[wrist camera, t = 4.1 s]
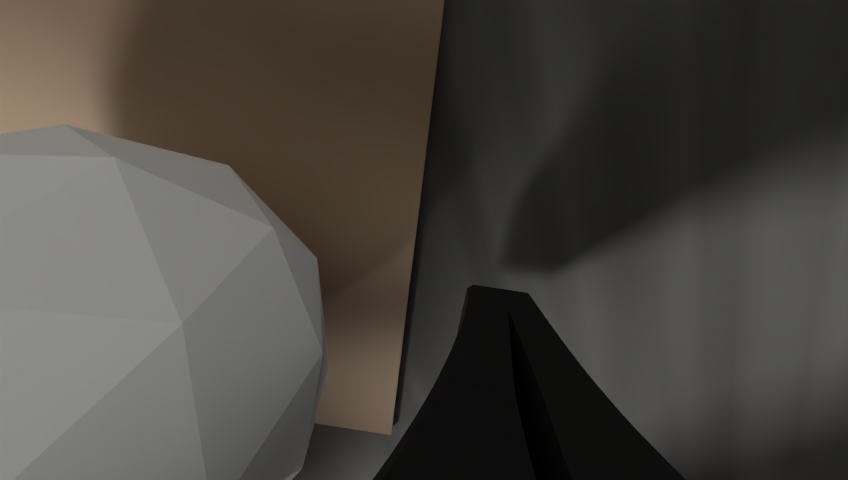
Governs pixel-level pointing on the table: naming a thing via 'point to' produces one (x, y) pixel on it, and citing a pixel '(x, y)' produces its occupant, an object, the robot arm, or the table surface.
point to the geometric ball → (149, 317)
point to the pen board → (265, 133)
